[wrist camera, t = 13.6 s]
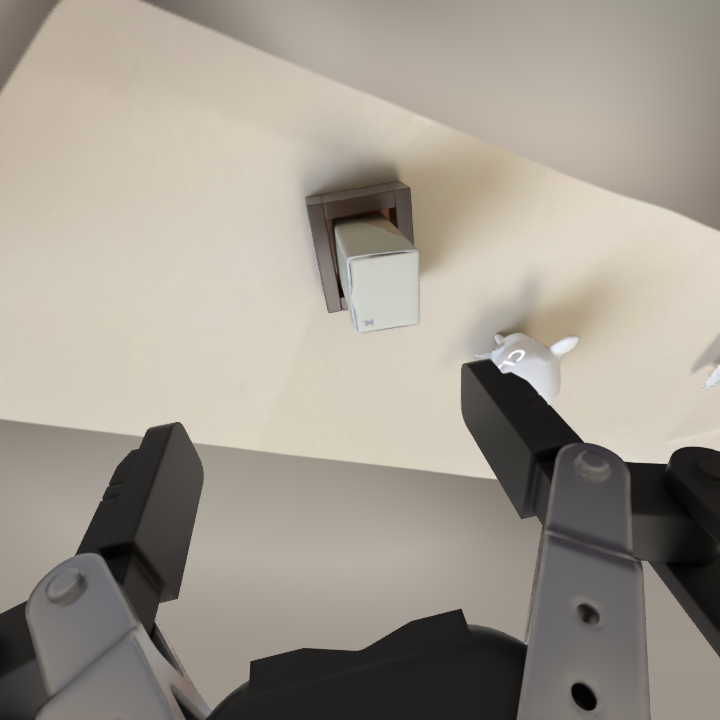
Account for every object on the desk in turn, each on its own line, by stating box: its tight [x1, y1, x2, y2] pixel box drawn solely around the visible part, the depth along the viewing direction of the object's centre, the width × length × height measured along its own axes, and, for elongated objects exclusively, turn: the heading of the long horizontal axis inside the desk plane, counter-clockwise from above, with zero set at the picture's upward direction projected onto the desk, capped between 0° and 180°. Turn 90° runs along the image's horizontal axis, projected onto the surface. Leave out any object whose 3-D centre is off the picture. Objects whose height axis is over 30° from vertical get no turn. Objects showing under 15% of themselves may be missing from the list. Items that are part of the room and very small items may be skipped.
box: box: [333, 214, 420, 334], centre depth 28 cm, size 5×4×11 cm
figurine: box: [460, 333, 580, 407], centre depth 38 cm, size 12×8×10 cm
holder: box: [305, 181, 414, 313], centre depth 32 cm, size 8×9×3 cm
